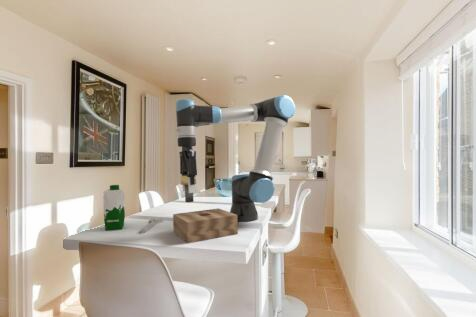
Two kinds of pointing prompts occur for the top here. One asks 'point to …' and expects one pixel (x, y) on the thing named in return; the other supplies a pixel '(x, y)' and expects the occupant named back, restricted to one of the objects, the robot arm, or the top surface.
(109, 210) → the milk carton
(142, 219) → the top surface
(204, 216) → the block
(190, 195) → the pin
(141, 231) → the adjustable wrench
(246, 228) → the top surface
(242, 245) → the top surface
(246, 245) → the top surface
